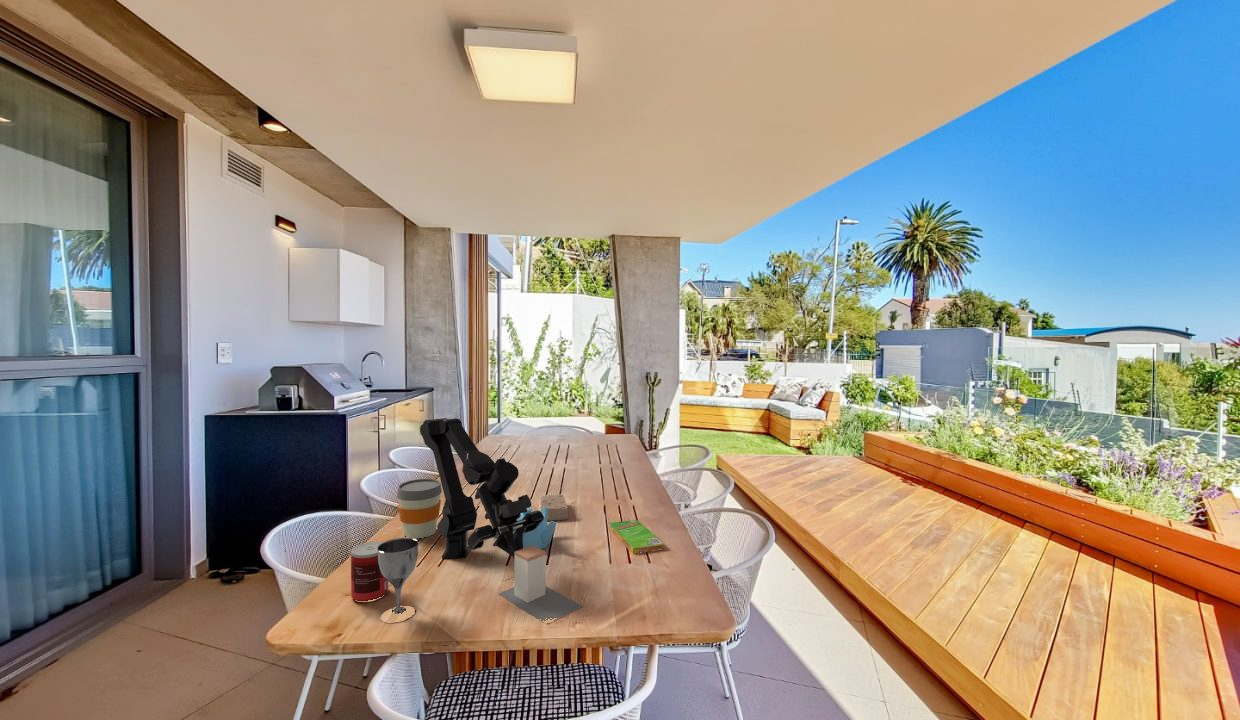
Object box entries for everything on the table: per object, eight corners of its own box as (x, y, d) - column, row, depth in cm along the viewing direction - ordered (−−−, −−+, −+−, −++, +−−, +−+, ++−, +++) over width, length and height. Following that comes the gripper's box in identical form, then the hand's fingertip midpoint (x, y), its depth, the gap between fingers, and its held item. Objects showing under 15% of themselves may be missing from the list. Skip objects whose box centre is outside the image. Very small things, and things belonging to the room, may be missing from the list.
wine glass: (423, 604, 109) (423, 537, 109) (409, 624, 101) (409, 552, 101) (387, 604, 109) (387, 537, 108) (370, 624, 101) (370, 552, 100)
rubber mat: (497, 596, 113) (497, 593, 113) (533, 581, 120) (533, 579, 120) (547, 627, 101) (547, 624, 100) (583, 609, 108) (583, 606, 108)
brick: (540, 506, 177) (540, 493, 176) (563, 505, 178) (563, 492, 178) (542, 523, 161) (542, 509, 160) (568, 521, 162) (568, 507, 162)
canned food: (378, 583, 118) (378, 538, 118) (394, 594, 113) (394, 547, 113) (345, 595, 112) (344, 548, 112) (360, 607, 107) (360, 558, 107)
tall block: (514, 594, 112) (514, 551, 112) (531, 587, 116) (532, 545, 116) (527, 602, 109) (527, 558, 109) (545, 594, 113) (545, 551, 112)
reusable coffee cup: (449, 526, 155) (449, 480, 154) (426, 543, 142) (426, 493, 141) (413, 523, 157) (413, 477, 156) (388, 539, 145) (387, 489, 144)
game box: (632, 558, 137) (608, 528, 156) (664, 553, 140) (636, 525, 159) (632, 547, 136) (608, 519, 155) (664, 543, 140) (636, 516, 159)
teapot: (497, 538, 147) (497, 502, 146) (547, 533, 151) (547, 498, 151) (501, 559, 132) (501, 520, 132) (556, 553, 137) (556, 515, 136)
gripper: (474, 494, 111) (501, 556, 104) (540, 478, 125) (568, 532, 117) (456, 520, 117) (481, 581, 109) (521, 502, 130) (547, 555, 123)
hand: (522, 561), depth 115 cm, fingers closed
